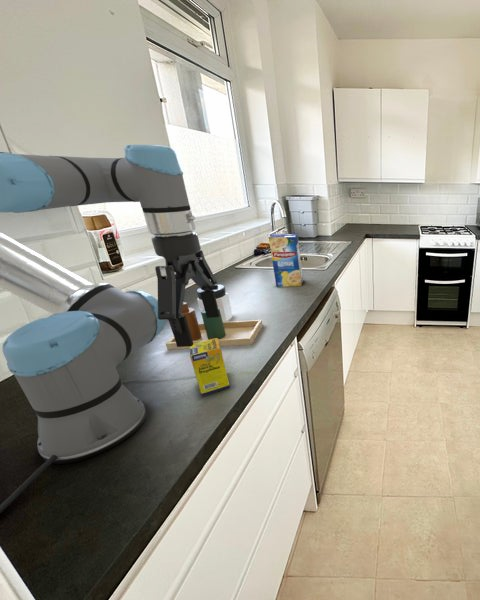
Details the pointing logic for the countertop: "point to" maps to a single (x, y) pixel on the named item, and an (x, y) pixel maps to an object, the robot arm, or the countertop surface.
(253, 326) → the tray
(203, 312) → the green bottle
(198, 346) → the supplement box
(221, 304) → the jar
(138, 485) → the countertop surface
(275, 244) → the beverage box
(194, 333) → the amber bottle
